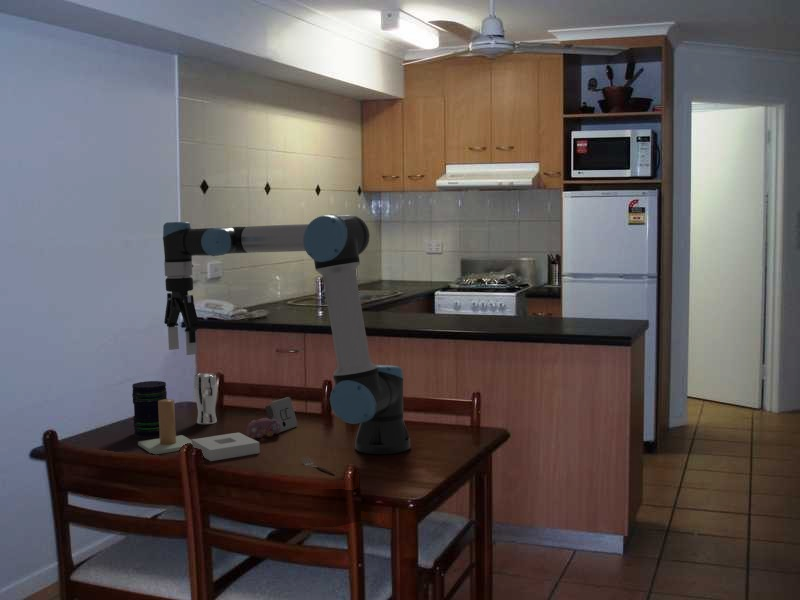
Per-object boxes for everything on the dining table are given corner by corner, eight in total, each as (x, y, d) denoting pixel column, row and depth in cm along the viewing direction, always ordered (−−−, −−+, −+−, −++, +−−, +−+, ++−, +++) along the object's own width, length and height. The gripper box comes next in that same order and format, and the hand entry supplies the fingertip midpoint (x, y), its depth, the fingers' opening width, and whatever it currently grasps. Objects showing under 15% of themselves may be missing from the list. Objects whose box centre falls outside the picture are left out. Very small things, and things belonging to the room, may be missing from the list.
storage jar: (134, 438, 272) (132, 388, 271) (133, 431, 282) (131, 382, 280) (169, 435, 275) (167, 385, 274) (167, 428, 285) (165, 380, 283)
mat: (198, 447, 261) (198, 444, 261) (152, 454, 254) (152, 451, 254) (182, 438, 272) (182, 435, 272) (138, 445, 265) (137, 441, 265)
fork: (330, 478, 231) (330, 470, 231) (299, 464, 244) (299, 456, 244) (339, 476, 232) (339, 468, 232) (308, 462, 245) (308, 455, 245)
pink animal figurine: (247, 444, 271) (248, 425, 267) (245, 434, 274) (246, 415, 271) (281, 441, 273) (282, 422, 270) (278, 431, 277) (279, 412, 274)
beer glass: (191, 424, 290) (189, 376, 288) (202, 419, 296) (200, 372, 295) (211, 425, 288) (210, 377, 286) (222, 420, 294) (220, 373, 293)
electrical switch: (280, 433, 277) (276, 402, 276) (266, 433, 279) (262, 402, 279) (298, 426, 285) (295, 396, 284) (284, 426, 287) (281, 396, 287)
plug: (178, 443, 262) (176, 401, 261) (162, 445, 260) (160, 403, 259) (173, 440, 266) (171, 398, 265) (157, 442, 263) (155, 400, 262)
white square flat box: (259, 453, 254) (259, 442, 254) (210, 461, 247) (210, 450, 246) (239, 442, 266) (238, 432, 266) (191, 450, 258) (191, 439, 258)
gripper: (209, 277, 255) (212, 355, 257) (175, 274, 275) (179, 346, 277) (182, 279, 251) (186, 358, 253) (150, 276, 271) (154, 348, 273)
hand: (182, 351), depth 265 cm, fingers open, 13 cm apart
